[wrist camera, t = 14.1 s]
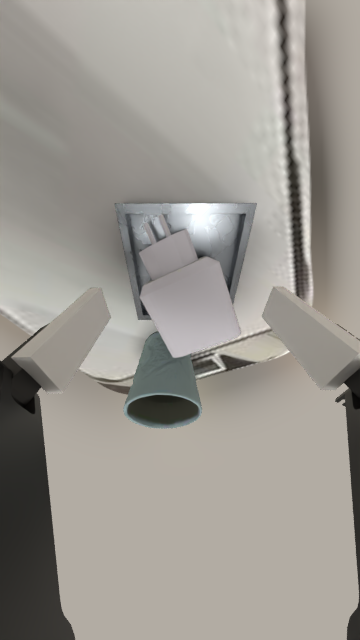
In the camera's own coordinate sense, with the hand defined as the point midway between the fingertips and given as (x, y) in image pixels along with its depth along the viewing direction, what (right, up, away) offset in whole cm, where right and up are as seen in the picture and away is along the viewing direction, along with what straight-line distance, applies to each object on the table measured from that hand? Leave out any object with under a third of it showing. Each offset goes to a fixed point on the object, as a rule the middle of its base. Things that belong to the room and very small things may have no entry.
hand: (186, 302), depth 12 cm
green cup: (-3, -7, +17) cm, 19 cm away
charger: (0, +3, +8) cm, 9 cm away
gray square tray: (0, +6, +8) cm, 10 cm away
